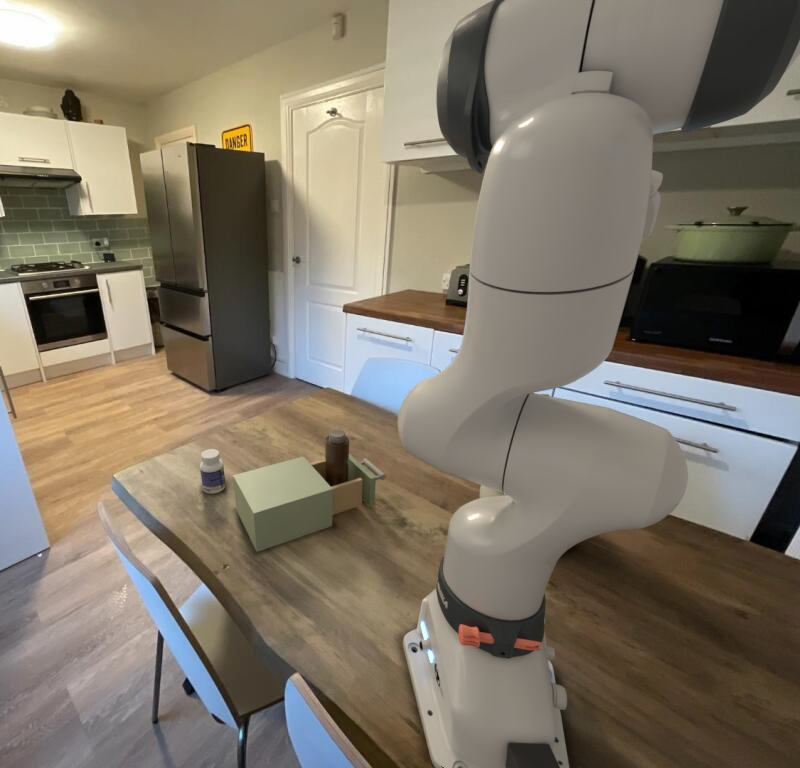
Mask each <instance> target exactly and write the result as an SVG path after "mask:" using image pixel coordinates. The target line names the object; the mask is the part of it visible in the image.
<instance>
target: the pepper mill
mask: <svg viewBox="0 0 800 768" xmlns="http://www.w3.org/2000/svg"><path fill="white" fill-rule="evenodd" d="M324 452H325V453H324V456H325V457H324V459H325V481H326V482H327V483H328V484H329V485H330V487H332V486H335V485H338V484H341V483H345V482H348V473H349V454H350V439H349V437H348V436H346V432H345V430H343V429H340V428H336V429H335V428H334V429H331V430H330V431H329V432H328V436H326V437H325V440H324Z"/></svg>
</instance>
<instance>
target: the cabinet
mask: <svg viewBox="0 0 800 768" xmlns="http://www.w3.org/2000/svg"><path fill="white" fill-rule="evenodd" d="M310 463H311V462H310V461H308V460H307V458H306V457H305V456H299V457H296V458H295V457H294V458H292V459H289V460H285V461H281V462H277V463H273V464H269V465H266V466H262V467H258V468H255V469H250V470H247V471H244V472H241V473H236V474H233V475H232V479H233V489H234V498H235V499H234V500H235V508H236V509H235V510H236V513H237V514H238V516H239V518H240V520H241V522H242V524H243V526H244V528H245V531H246V533H247V535H248V537H249V539H250V541H251V543H252V546H253V547H254V550H255V551H256V552H257V553H258V552H262V551H264V550H267V549H270V548H272V547H276V546H278V545H281V544H284V543H287V542H289V541H293V540H295V539H299V538H301V537H304V536H308V535H310V534H313V533H316V532H319V531H322V530H324V529H328V528H330V527H333V515H332V506H333V489H332V488H331V487H330V485H329V484H328V483H327V482H326V481H325V480H324V479H323V478H322V476H321V475H320V474H319V473H318V472H317V471H316V470H315V469H314V468H313V466H312V465H311V464H310Z"/></svg>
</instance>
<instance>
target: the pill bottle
mask: <svg viewBox="0 0 800 768" xmlns="http://www.w3.org/2000/svg"><path fill="white" fill-rule="evenodd" d="M200 458H201V462H200V463H199V472H200V478H201V486H202V490H203V492H204V493H207V494H212V495H213V494H217V493H220V492H223V491H224V489H225V488H226V474H225V467H224V461H223V460H222V459H221V456H220V451H219V450H218V449H215V448H209V449H206V450H204V451H202V452H201V454H200Z"/></svg>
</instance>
